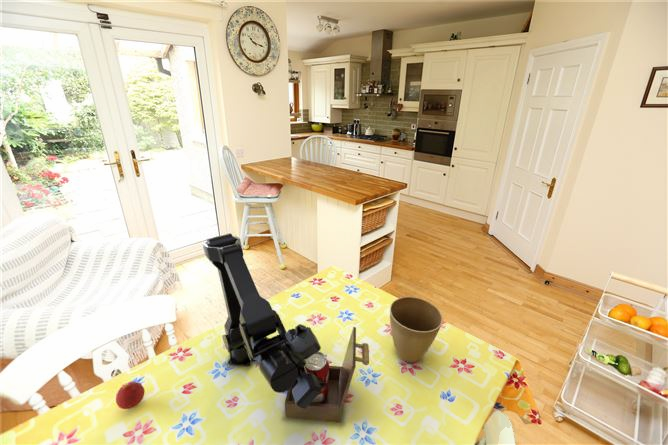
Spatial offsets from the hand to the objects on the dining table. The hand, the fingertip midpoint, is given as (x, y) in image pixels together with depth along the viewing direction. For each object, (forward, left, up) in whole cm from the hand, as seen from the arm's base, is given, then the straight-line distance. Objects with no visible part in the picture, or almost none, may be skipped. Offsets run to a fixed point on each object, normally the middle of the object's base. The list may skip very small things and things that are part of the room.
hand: (320, 373), depth 74 cm
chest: (-1, -1, -8) cm, 8 cm away
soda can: (-1, -1, -7) cm, 7 cm away
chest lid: (+7, -1, +4) cm, 8 cm away
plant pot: (+26, +16, -8) cm, 32 cm away
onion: (-47, -7, -8) cm, 48 cm away
